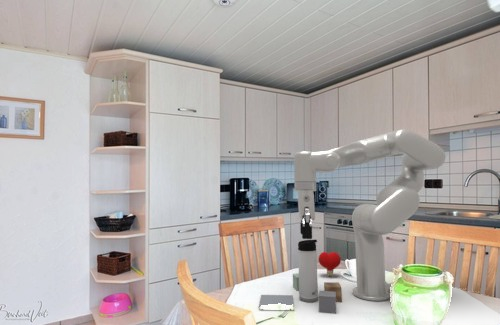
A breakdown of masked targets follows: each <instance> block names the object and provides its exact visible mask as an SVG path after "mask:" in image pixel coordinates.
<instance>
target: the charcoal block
mask: <svg viewBox="0 0 500 325" xmlns="http://www.w3.org/2000/svg"><path fill="white" fill-rule="evenodd" d="M318 312H319V313H323V314H335V315H336V314H337V302H336V292H333V291H324V290H318Z"/></svg>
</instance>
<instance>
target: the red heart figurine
mask: <svg viewBox="0 0 500 325" xmlns="http://www.w3.org/2000/svg"><path fill="white" fill-rule="evenodd" d="M341 262H342V259H341V256H340V255H339V253H337V252H336V251H331V252H329V253H328V252H326V251H322V252H321V253H320V254H319V256H318V263H319V264H320V265H321V267H323V268H324V269H326V275H327V276H328V277H332V276H333V275H334V270H335V269H336V268H339V266H340V264H341ZM320 265H319V266H320Z"/></svg>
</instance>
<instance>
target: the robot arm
mask: <svg viewBox="0 0 500 325" xmlns="http://www.w3.org/2000/svg"><path fill="white" fill-rule="evenodd" d="M396 155H402V157H401V158H402V159H401V166H402V167H401V168H402V170H401V173H400V174H399V176H397V177H396V179H394V180H393V181H392V182H390V183H389V184H388V185H386V186H385V187H384V188H383V189H381V190H380V191H379V192H378V194H377V196H376V200H375V202H376V204H373V203H371V204H370V203H362V204H359V205H358V206H356V207H355V208H354V210H353V211H352V215H351V223H352V224H351V225H352V227H353V233H354V242H355V243H354V245H355V267H356V268H355V270H356V273H355V274H356V286H355V287H353V288H352V294H353V296H354V297H356V298H359V299H362V300H367V301H372V302H373V301H374V302H376V301H377V302H378V301H379V302H380V301H387V300H389V299H391V297H390V293H391V292H390V287H391V284H392V282H391V283H388V282H387V281H386V267H385V266H386V265H385V262H386V261H385V243H384V237H383V235H388V234H391V233H393V231H395V230H396V229H397V228H399V227H400V226H401V225H402V224H404V223H405V222H406V221H407V220H408V219H410V218H411V217H412V216H413V215H414V214H415V213H416V212H417V210H418V209H419V206H420V203H421V202H420V200H421V199H420V196H419V193H420V191H421V190H422V189H423V187H424V183H425V173H424V171H425V170H429V171H430V170H436V169H438V168H440V167H441V166H443V165H444V163H445V161H446V153H445V151H444V149H443V148H442V147H441V146H439V144H436V143H435V142H433V141H431V140H430V139H428V138H426V137H424V136H422V135H420V134H418V133H416V132H415V131H412V130H409V129H406V128H401V129H397V130H393V131H389V132H386V133H382V134H377V135H374V136H372V137H367V138H363V139H360V140H357V141H354V142H351V143H348V144H346V145H342V146H339V147H336V148H332V149H328V150H321V151H309V150H304V151H296V152H295V153H294V155H293V158H294V159H293V169H294V171H293V176H294V178H293V179H294V192H297V207H298V217H299V220H300V226H299V228H300V230H299V231H300V234H301V238H302V239H303V240H313V226H312V221H315V220H316V215H315V214H316V212H315V194H314V192H317V173H320V174H324V173H330V172H334V171H336V170H337V169H339V168H344V167H349V166H357V165H358V166H359V165H363V164H367V163H372V162H374V161H375V162H376V161H378V160H382V159H386V158H389V157H392V156H396Z"/></svg>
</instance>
